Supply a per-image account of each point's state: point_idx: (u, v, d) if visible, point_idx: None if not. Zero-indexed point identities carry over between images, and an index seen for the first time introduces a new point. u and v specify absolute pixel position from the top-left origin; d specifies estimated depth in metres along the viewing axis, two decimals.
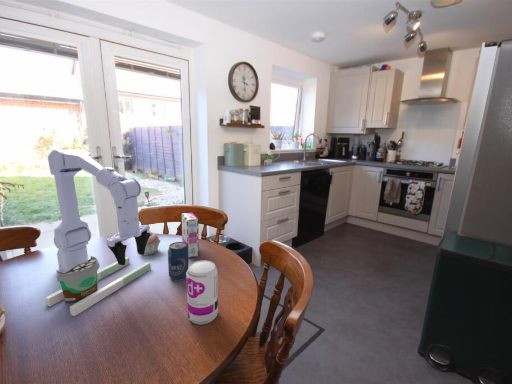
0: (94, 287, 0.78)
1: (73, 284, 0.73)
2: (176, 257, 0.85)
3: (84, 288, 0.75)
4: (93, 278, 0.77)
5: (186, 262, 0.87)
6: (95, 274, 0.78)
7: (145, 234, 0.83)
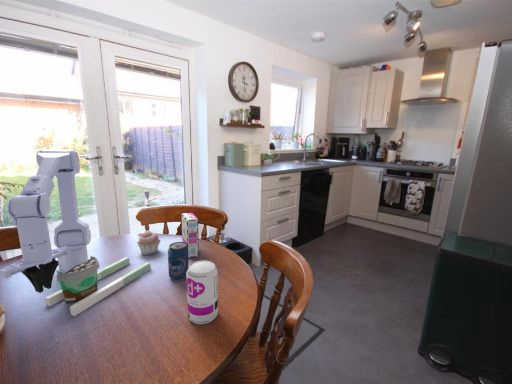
0: (94, 287, 0.78)
1: (73, 283, 0.73)
2: (176, 257, 0.85)
3: (84, 288, 0.75)
4: (93, 278, 0.77)
5: (186, 262, 0.87)
6: (95, 274, 0.78)
7: (50, 263, 0.66)
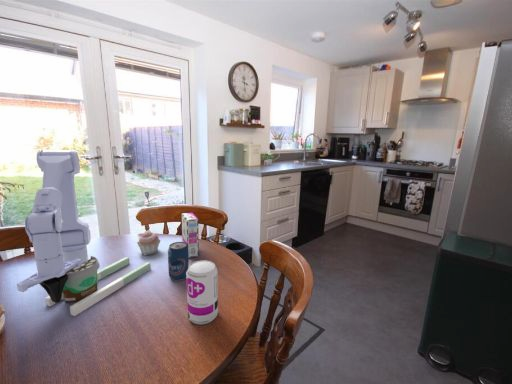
0: (94, 287, 0.78)
1: (73, 283, 0.73)
2: (176, 257, 0.85)
3: (84, 288, 0.75)
4: (93, 278, 0.77)
5: (186, 262, 0.87)
6: (95, 274, 0.78)
7: (60, 277, 0.69)
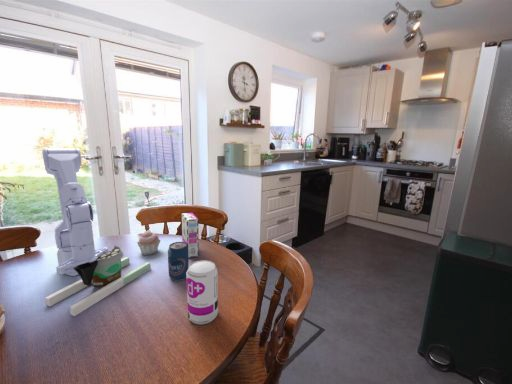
0: (118, 273, 0.86)
1: (101, 269, 0.81)
2: (176, 257, 0.85)
3: (110, 274, 0.83)
4: (118, 265, 0.85)
5: (186, 262, 0.87)
6: (119, 261, 0.86)
7: (91, 263, 0.77)
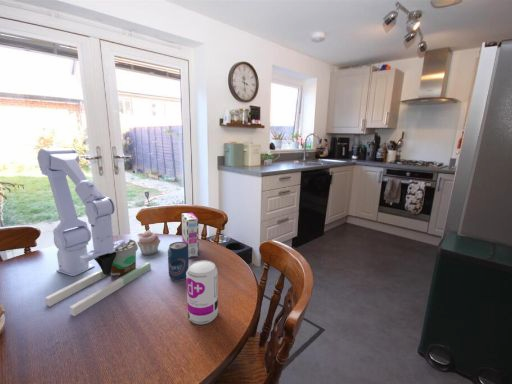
0: (134, 265, 0.92)
1: (119, 260, 0.87)
2: (176, 257, 0.85)
3: (127, 265, 0.89)
4: (133, 257, 0.91)
5: (186, 262, 0.87)
6: (135, 254, 0.92)
7: (111, 254, 0.83)
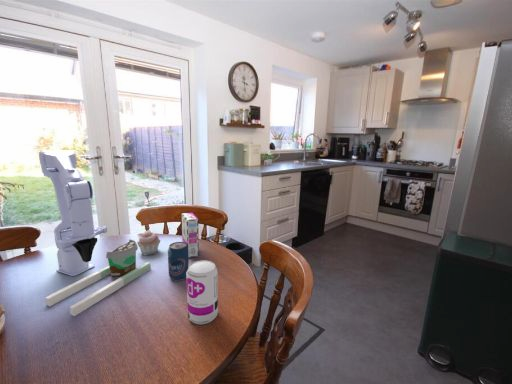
0: (134, 265, 0.92)
1: (118, 261, 0.87)
2: (176, 257, 0.85)
3: (127, 265, 0.89)
4: (133, 257, 0.91)
5: (186, 262, 0.87)
6: (135, 254, 0.92)
7: (91, 239, 0.79)
